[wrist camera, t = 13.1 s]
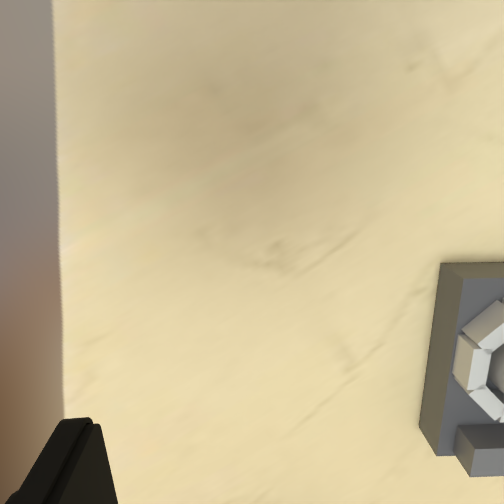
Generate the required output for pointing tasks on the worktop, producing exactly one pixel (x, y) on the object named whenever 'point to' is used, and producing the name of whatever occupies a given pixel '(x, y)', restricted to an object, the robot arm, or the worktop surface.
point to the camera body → (466, 368)
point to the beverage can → (497, 367)
